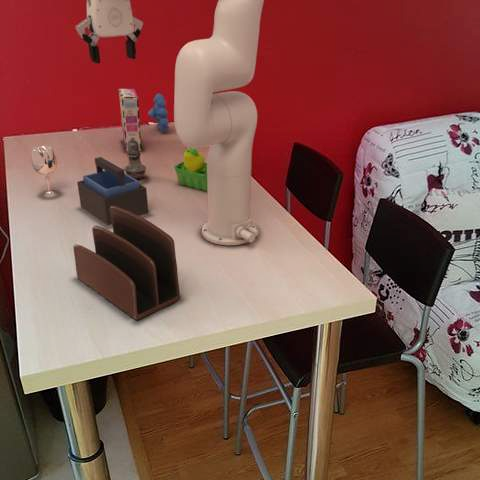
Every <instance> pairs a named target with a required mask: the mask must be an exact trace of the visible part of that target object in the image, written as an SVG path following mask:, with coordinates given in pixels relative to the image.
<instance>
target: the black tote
mask: <svg viewBox="0 0 480 480" xmlns="http://www.w3.org/2000/svg"><path fill="white" fill-rule="evenodd" d="M139 185H140V188H139V189H135V190H132V191H128V192H125V193H121V194H117V195H114V196H110V197H107V198H106V197H104V196H102V195H101V194H99V193H98V192H96V191H95V190H93V189H91V188H90V187H88V186H87V185H85V184H84V180H83V179H82V180H78V181H77V190H78V197H79V202H80V203H79V204H80V207H81V208H82V209H83V210H84V211H86V212H88V213H89V214H90V215H92V216H93V217H94V218H96V219H98V220H99V221H100V222H102V223H103V224H105V225H106V226H112V220H111V213H110V207H111V206H117V207H120V208H123V209H125V210H127V211H130V212H132V213H134V214H136V215H138V216H140V217H142V216H143V215H147V214H149V204H148V203H149V201H148V191H147V187H146V186H144V185H142V184H140V183H139Z"/></svg>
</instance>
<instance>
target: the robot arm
mask: <svg viewBox="0 0 480 480" xmlns="http://www.w3.org/2000/svg"><path fill="white" fill-rule="evenodd" d="M264 2H265V0H218V1H217V4H216V7H215V11H214V16H213V17H214V19H213V20H214V21H213V30H212V35H211V36H210V37H209V38H203V39H195V40H192V41H189V42H187V43H186V44H184V46H182V48H180V50H179V52H178V54H177V56H176V61H175V69H174V98H173V99H174V101H173V121H174V130H175V133H176V136H177V138H178V140H179V141H180V143H181V144H182V145H183V146H185V147H186V148H188V149H189V148H194V149H196V150H197V149H203V148H207V147H209V149H208V151H207V157H206V163H207V189H208V191H207V218H208V219H207V221H206V222H205V223H203V225H202V226H201V235H202V237H203V238H204V239H205V240H206V241H208V242H210V243H213V244H216V245H219V246H238V245H244V244H247V243H253V242H254V241H255V240H256V237H257V236H259V235H260V230H259V229H258V227H257V225H256V224H255V223H254V219H253V218H252V217H251V214H252V213H251V212H252V211H251V209H252V158H253V155H252V154H253V146H254V138H255V134H256V129H257V124H258V110H257V107H256V104H255V102H254V100H253V99H252V98H251V97H250V96H249V95H248V94H246V93H244V92H243V91H238V90H237V91H236V90H235V89H239V88H242V87H245V86H247V85H248V84H250V83H251V82H252V80H253V78H254V75H255V71H256V65H257V55H258V46H259V37H260V28H261V27H260V26H261V17H262V11H263V7H264ZM131 5H132V4H131V0H86V18H85V19H83V20H82V21H81V22H79V23H78V24H77V25H75V30H76V32H77V34H78V35H79V37H80V39H81V40H82V41H84V42H85V43H86V45H88V52H89V58H90V60H91V62H92V63H94V64H100V63H101V56H100V47H99V46H98V45H97V43H98V42H99V41H100V38H114V37H115V38H116V37H123V36H124V37H125V38H126V40H125V53H126V57H127V58H128V59H131V60H136V59H137V57H136V54H137V49H136V43H137V42H138V38H139V37H140V35H141V33H142V32H141V31H142V28H143V26H144V22H143V20H141V19H138V18H136V17H135V16H134V15H133V11H132V10H133V9H132V6H131ZM87 28H88V29H87ZM86 29H87V30H88V32H89V33H86ZM88 34H89V35H88ZM229 90H230V91H229Z"/></svg>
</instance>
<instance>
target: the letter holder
mask: <svg viewBox="0 0 480 480" xmlns="http://www.w3.org/2000/svg"><path fill="white" fill-rule="evenodd" d="M110 213H111V220H112V225H111V226H112V231H111V230H109V229H106V228H105V227H101V226H99V225H93V226H92V228H91V230H92V238H93V244H94V250H95V251H93V250H91V249H89V248H87V247H85V246H83V245H80V244H74V245H73V255H74V262H75V271H76V277H77V279H78V280H80V282H83V284H85V285H86V286H88V287H89V288H91V290H93V291H95V292H96V293H97V294H99V295H100V296H101V297H102V298H104V299H106V300H107V301H109V302H110V303H111V304H113V305H114V306H116V307H117V308H119V310H121V311H122V312H123V313H125V314H127V315H128V316H129V317H131V318H132V319H134V320H136V321H138V320H140V319H141V320H142V319H143V318H145V317H147V316H150V315H152V314H153V313H156V312H158V311H159V310H162V309H163V308H166V307H168V306H170V305H171V304H174V303H176V302H179V301H180V300H181V294H180V285H179V275H178V274H179V273H178V262H177V256H176V255H177V254H176V245H175V241H174V239H173V237H172V236H171V235H170V234H169V233H167V232H166V231H164V230H163V229H161V228H160V227H158V226H157V224H154V223H152V222H150V221H149V220H148V219H146V218H144V217H142V216H138V215H136V214H134V213H132V212H130V211H127V210H125V209H123V208H120V207H117V206H111V207H110Z"/></svg>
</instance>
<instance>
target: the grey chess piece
mask: <svg viewBox="0 0 480 480" xmlns="http://www.w3.org/2000/svg"><path fill="white" fill-rule="evenodd" d="M127 145H128V152H127V154H126V156H127V158H128V164H127V165H126V166H124V167H123V170H124V172H125V174H127V175H129V176H130V177H132V178H134V179H136V180H138V181H140V180H141V178H143V176H145V174H146V170H147V166H145V164H142V162H141V156H142V153H141V152H140V151H139V145H138V142H137V141H134V140H133V137H132V140H131V141H129V142H128V144H127Z"/></svg>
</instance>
